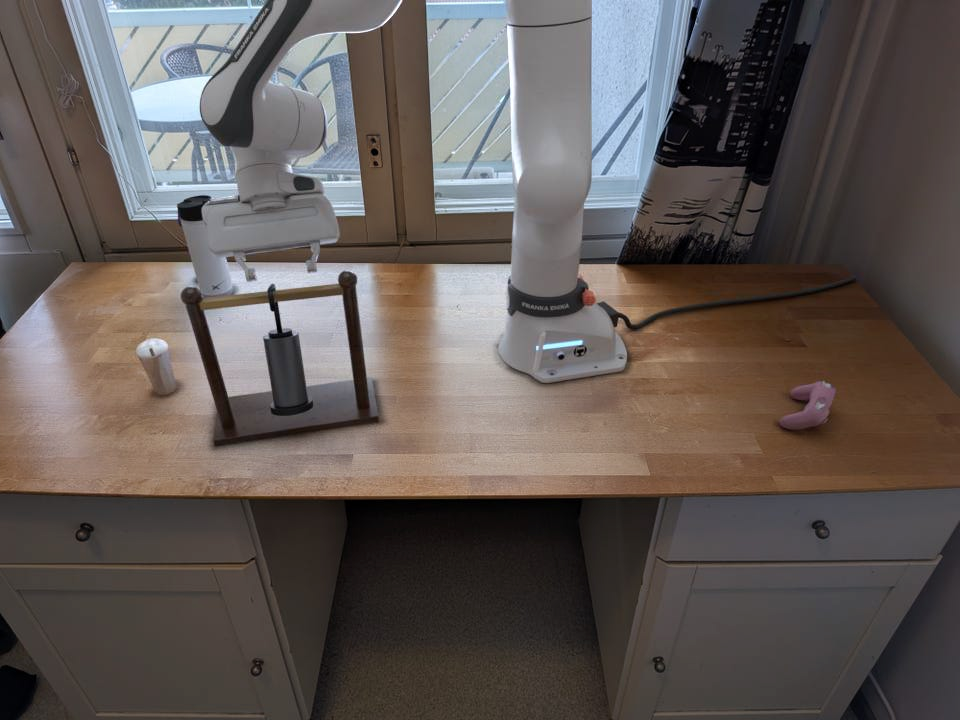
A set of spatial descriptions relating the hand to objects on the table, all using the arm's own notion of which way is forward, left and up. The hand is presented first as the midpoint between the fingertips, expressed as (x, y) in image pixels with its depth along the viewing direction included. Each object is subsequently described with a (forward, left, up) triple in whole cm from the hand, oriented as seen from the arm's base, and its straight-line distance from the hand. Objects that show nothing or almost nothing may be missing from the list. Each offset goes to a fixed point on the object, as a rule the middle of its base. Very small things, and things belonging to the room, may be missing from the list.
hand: (282, 276), depth 103 cm
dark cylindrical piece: (-3, +21, -11) cm, 24 cm away
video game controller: (-81, +20, -16) cm, 85 cm away
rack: (-2, +14, -16) cm, 22 cm away
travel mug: (+20, -24, -16) cm, 35 cm away
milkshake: (+20, +8, -16) cm, 27 cm away
